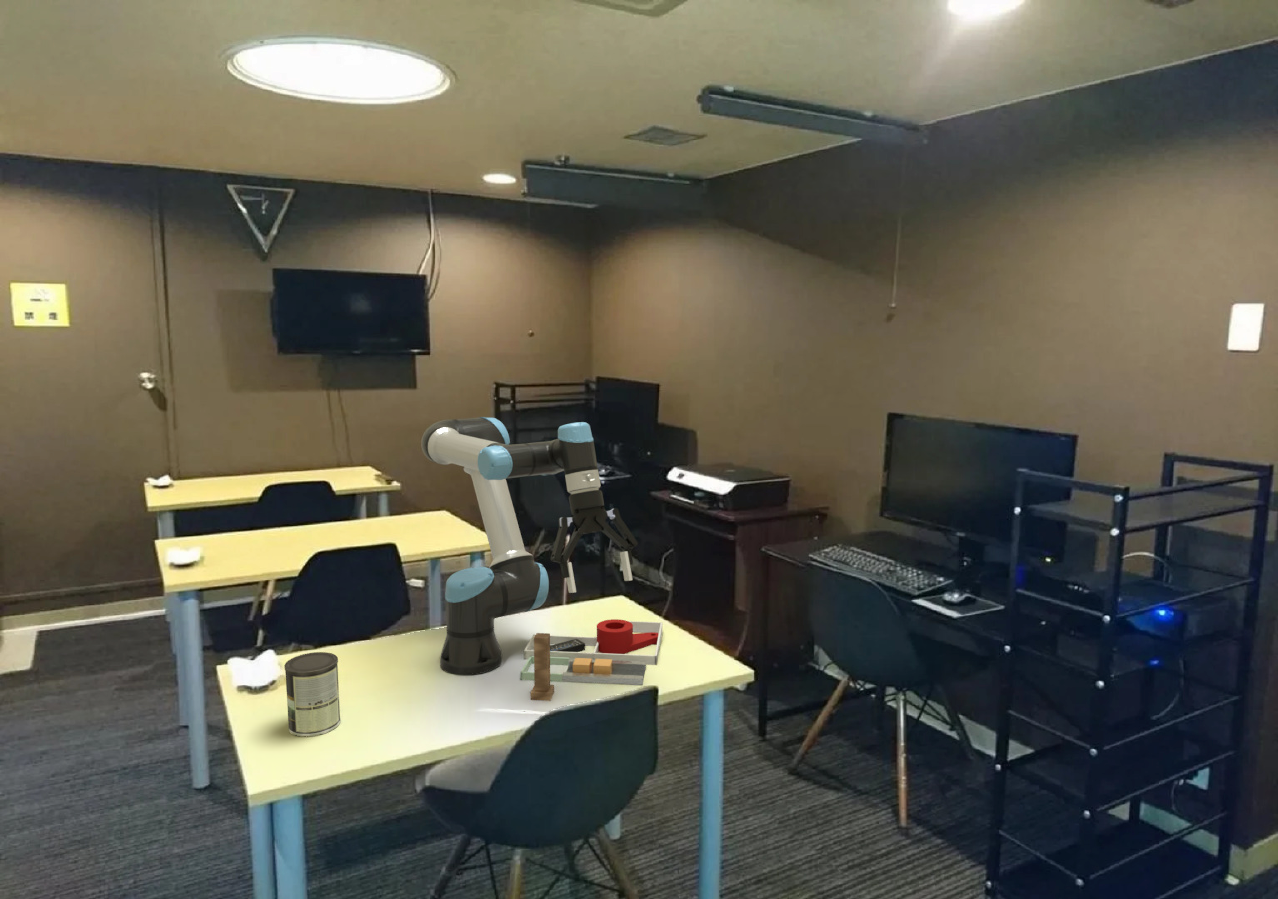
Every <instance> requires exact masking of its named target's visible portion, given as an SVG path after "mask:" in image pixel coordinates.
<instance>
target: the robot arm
mask: <svg viewBox="0 0 1278 899" xmlns="http://www.w3.org/2000/svg"><path fill="white" fill-rule="evenodd" d="M508 432H509V431H508V430H507V427H506V426H505V424H503V422H502V421H500V420H499V419H497V418H495V417H486V416H480V417H473V418H470V417H469V418H457V419H454V418H453V419H444V420H443V419H442V420H440V421H437V422H435V423H432V424H431V425H430V426H429V427H427V428H426V430H425V431H424V432H423V434H422V436H421V440H420V441H421V442H420V444H421V450H422V453H423V455H424V456H425V457H426V458H427V459H428V460H429V461H431V462H433V463H435V464H439V465H445V466H446V465H450V464H452V465H457V466H461V467H462V468H463V471H464V473H466V474H468V475H470V477H471V480H472V484H473V489H474V492H475V495H476V500H477V503H478V507H479V511H480V514H481V518H482V522H483V526H484V530H485V534H486V537H487V541H488V545H489V549H490V553H491V556H492V561H491V563H490V565H489V566H488V567H486V566H477V567H473V566H471V567H467V568H464V569H461V570H458V571H456V572H454V573H453V574H451V575H450V576H449V577H448V578H447V580H446V583H445V593H444V598H445V617H446V618H445V619H446V623H445V624H446V636H445V640H444V643H443V646H442V648H441V652H440V658H439V659H440V660H439V663H440V664H439V666H440V669H441V670H443V671H444V672H447V673H449V674H452V675H460V676H462V675H463V676H469V675H471V676H472V675H473V676H474V675H478V674H484V673H487V672H489V671H493V670H494V669H496V668H498V667H499V666H500V665H501V664H502V662H503V659H502V658H503V657H502V656H503V655H502V654H503V653H502V650H501V647H500V643H499V641H498V639H497V636H496V632H495V619H498V618H503V617H507V616H511V615H515V614H520V613H524V612H525V613H526V612H530V611H532V610H534V609H538V608H540V607H541V606H543V605H544V603H545V602H546V599H547V598H548V594H549V589H550V588H549V585H550V583H549V582H550V581H549V575H548V572H547V570H546V568H545V567H544V565H543V564H542V563H540V562H536V561H535V560H534V556H533V554H531V553H530V552H528V551H526V549H525V545H524V540H523V538H522V535H521V534H522V533H521V530H520V528H519V527H520V526H519V524H518V519H517V516H516V513H515V508H514V505H513V501H512V497H511V493H510V490H509V486H508V482H507V480H506V479H513V478H514V479H515V478H520V477H521V478H522V477H531V476H532V477H533V476H539V475H540V476H552V475H556V474H559V473H561V472H564V476H565V484H566V490H567V491H566V492H568V493H569V494H570V495H569V496H568V501H569V506H570V512H571V516H570V517H567V516H562V517H559V518H558V529H557V534H556V538H555V541H554V545H553V548H552V551H551V555H550V562H552V563H553V562H554V563H557V564H559V567H560V572H561V577H562V579H565V580H566V584H567V589H568V593H569V594H571V593H572V594H573V593H577V587H576V583H575V582H576V581H575V577H574V576H575V575H574V571H573V564H572V562H571V561H569V559H570V557H571V556H572V554H573V551H574V550H575V548H576V547H577V545H578V542H579V540H580V539H581V537H582V536H583V535H588V534H592V533H598V532H601V533H603V534H604V535H605V536H607V538H609V539H610V540H611V541H612V542H613V543H614V544H615V545H617V546H618V548H620V549H621V550H622V551H620V552H619V557H620V562H621V569H622V573H623V579H624V580H623V581H624V582H629V581H633V574H632V570H631V565H633V563H634V561H633V555H632V550H633V548H635V547H637V546H638V544H639V543H638V541H637V539H636V538H635V536H634V535H633V533H632V532H631V530H630V528H629V527H627V525H626V523H625V522H624V520H623V519H622V517H621V514H620V511H619V509H618V508H617V507H616V508H611V509H610V510H606V509H605V502H604V501H605V500H604V497H603V491H602V490H601V489H600V488H601V484H602V483H601V479H600V473H599V469H598V462H597V455H596V454H597V453H596V448H595V444H594V443H595V442H594V437H593V434H592V430H591V425H590V424H589V423H587V422H584V421H581V422H571V423H567V424H563V425H560V426H559V427H558V429H557V438H556V439H553V440H548V441H539V442H529V443H528V442H527V443H518V444H517V443H515V444H511V441H510V436H509V433H508ZM608 518H609V520H611V521H612V523H613V524H614V526H615V527H616V529H617V531H618V532H619V533H617V532H616V531H615V530H614V529H613V528H612V527H611V526H610V525H609V524H608V523H607V522H606V521H607V519H608ZM571 524H572V525H573V526H574V527H575V528H574V529H573V531H572V533H571V536H570V538H569V540H568V542H567V543H566V546H565V547H564V544H565V540H566V537H567V532H568V529H569V527H570V525H571ZM619 534H620V535H621V536H620V535H619ZM563 547H564V549H563ZM568 561H569V562H568Z"/></svg>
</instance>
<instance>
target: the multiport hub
mask: <svg viewBox="0 0 1278 899" xmlns="http://www.w3.org/2000/svg"><path fill="white" fill-rule="evenodd" d="M550 651H561V652H584V651H586V646H585V643H583V642H581V641H580V640H578V639H574V640H570V641H566V642H562V643H558V644H550Z"/></svg>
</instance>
